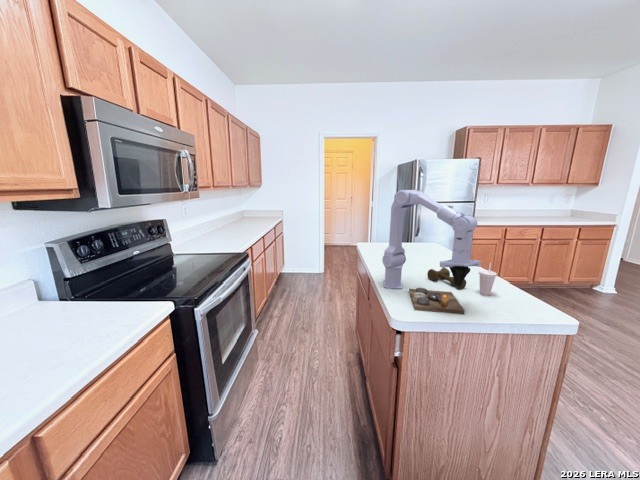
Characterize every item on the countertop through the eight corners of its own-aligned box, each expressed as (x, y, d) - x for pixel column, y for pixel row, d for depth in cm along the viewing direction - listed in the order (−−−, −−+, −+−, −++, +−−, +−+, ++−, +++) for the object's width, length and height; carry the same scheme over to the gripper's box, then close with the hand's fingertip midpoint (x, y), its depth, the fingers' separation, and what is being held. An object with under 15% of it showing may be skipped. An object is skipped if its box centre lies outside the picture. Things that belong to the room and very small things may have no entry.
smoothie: (496, 297, 108) (501, 265, 105) (479, 296, 109) (483, 264, 106) (489, 291, 114) (494, 260, 111) (473, 290, 115) (477, 259, 112)
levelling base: (408, 292, 113) (409, 285, 113) (451, 295, 110) (451, 288, 109) (414, 309, 97) (415, 301, 96) (464, 314, 94) (465, 306, 93)
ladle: (425, 295, 105) (425, 286, 104) (436, 295, 106) (437, 285, 105) (439, 307, 95) (440, 296, 94) (452, 306, 96) (453, 296, 95)
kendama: (454, 292, 114) (420, 276, 132) (469, 289, 118) (435, 274, 136) (456, 279, 113) (422, 265, 131) (471, 277, 117) (436, 263, 135)
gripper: (449, 253, 88) (445, 290, 91) (488, 251, 90) (483, 288, 93) (437, 248, 95) (434, 283, 98) (474, 247, 97) (470, 281, 100)
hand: (457, 285), depth 96 cm, fingers closed
